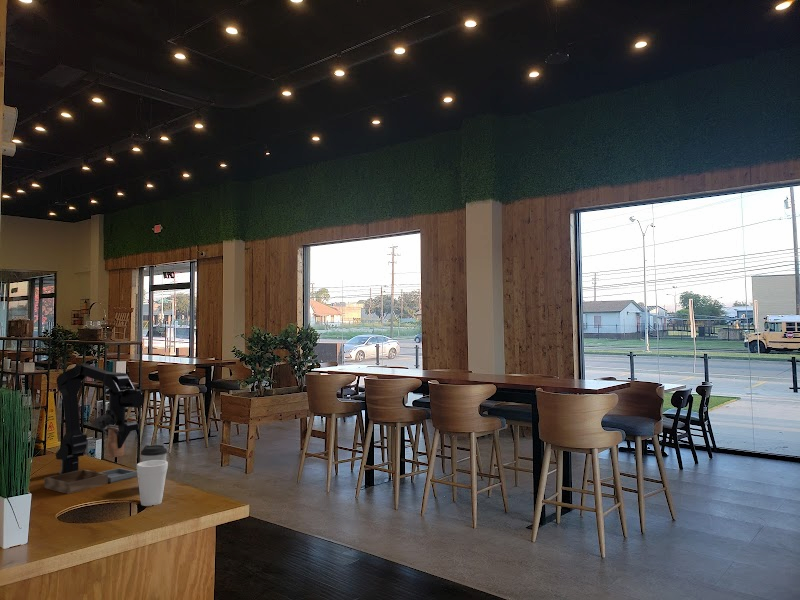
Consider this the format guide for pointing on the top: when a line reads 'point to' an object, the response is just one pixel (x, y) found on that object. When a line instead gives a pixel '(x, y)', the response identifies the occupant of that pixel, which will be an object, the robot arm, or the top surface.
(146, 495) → the foam cup
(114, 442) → the terracotta peg
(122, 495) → the top surface
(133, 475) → the grey rectangular bin
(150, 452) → the coffee cup
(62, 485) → the brown square tray
